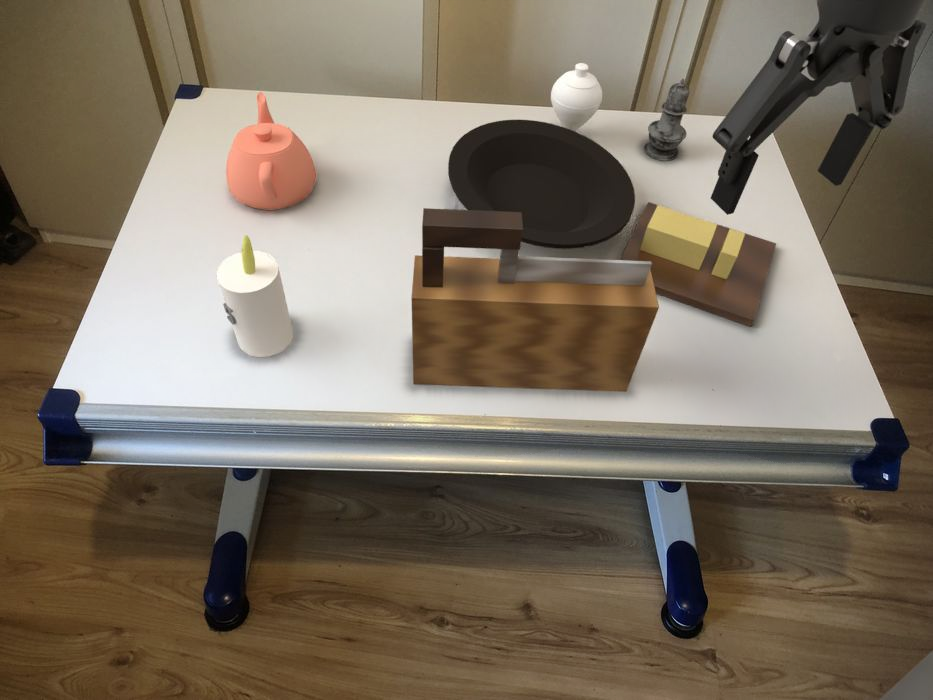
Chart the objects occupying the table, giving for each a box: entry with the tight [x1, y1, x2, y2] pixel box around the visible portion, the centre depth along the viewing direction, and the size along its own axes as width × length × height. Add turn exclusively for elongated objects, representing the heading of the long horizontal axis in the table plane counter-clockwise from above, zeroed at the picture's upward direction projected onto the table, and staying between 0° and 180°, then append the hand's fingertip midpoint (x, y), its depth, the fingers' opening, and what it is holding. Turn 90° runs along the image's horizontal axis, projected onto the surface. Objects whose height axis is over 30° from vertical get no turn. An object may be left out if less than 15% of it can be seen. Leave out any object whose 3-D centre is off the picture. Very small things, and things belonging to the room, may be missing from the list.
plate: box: [447, 119, 636, 250], centre depth 95 cm, size 28×24×6 cm
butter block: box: [640, 204, 718, 270], centre depth 90 cm, size 5×8×4 cm, turn 64°
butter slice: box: [712, 228, 745, 279], centre depth 88 cm, size 5×2×4 cm, turn 154°
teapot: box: [225, 92, 317, 211], centre depth 94 cm, size 12×18×10 cm
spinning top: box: [550, 62, 603, 132], centre depth 104 cm, size 8×8×12 cm
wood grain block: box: [410, 254, 660, 393], centre depth 73 cm, size 24×6×14 cm, turn 90°
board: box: [619, 202, 777, 328], centre depth 91 cm, size 16×18×1 cm
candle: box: [216, 234, 294, 358], centre depth 74 cm, size 6×6×15 cm
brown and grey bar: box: [421, 207, 652, 287], centre depth 65 cm, size 22×3×8 cm, turn 90°
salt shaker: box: [643, 78, 691, 162], centre depth 103 cm, size 6×6×12 cm
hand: (776, 191), depth 69 cm, fingers open, 13 cm apart
